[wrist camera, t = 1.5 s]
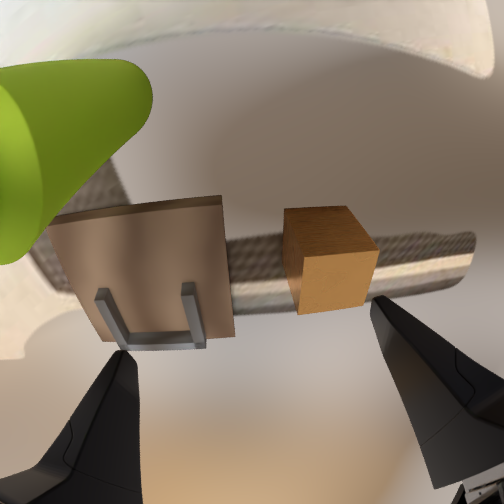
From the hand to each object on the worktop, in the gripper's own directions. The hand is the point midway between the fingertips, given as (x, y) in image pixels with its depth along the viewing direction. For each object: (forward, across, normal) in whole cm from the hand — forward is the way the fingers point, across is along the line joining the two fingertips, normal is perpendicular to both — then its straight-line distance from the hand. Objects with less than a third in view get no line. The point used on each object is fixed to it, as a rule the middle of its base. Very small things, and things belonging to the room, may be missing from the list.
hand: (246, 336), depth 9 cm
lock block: (+13, -6, +6) cm, 15 cm away
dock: (+13, +9, +6) cm, 17 cm away
